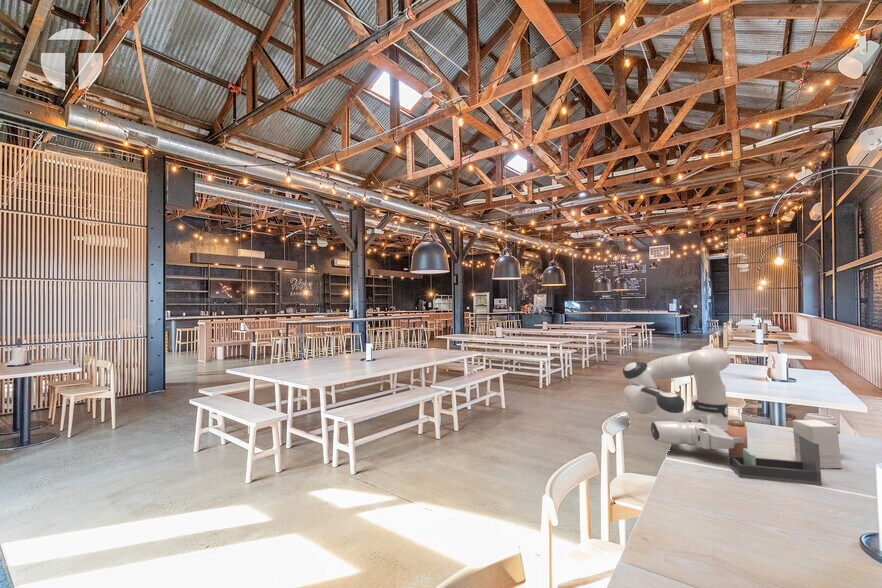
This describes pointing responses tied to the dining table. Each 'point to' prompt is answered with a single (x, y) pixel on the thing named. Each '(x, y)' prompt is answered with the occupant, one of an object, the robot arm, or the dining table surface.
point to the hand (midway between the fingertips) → (740, 437)
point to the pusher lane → (784, 466)
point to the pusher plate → (748, 457)
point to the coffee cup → (821, 418)
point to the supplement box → (819, 441)
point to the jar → (737, 430)
